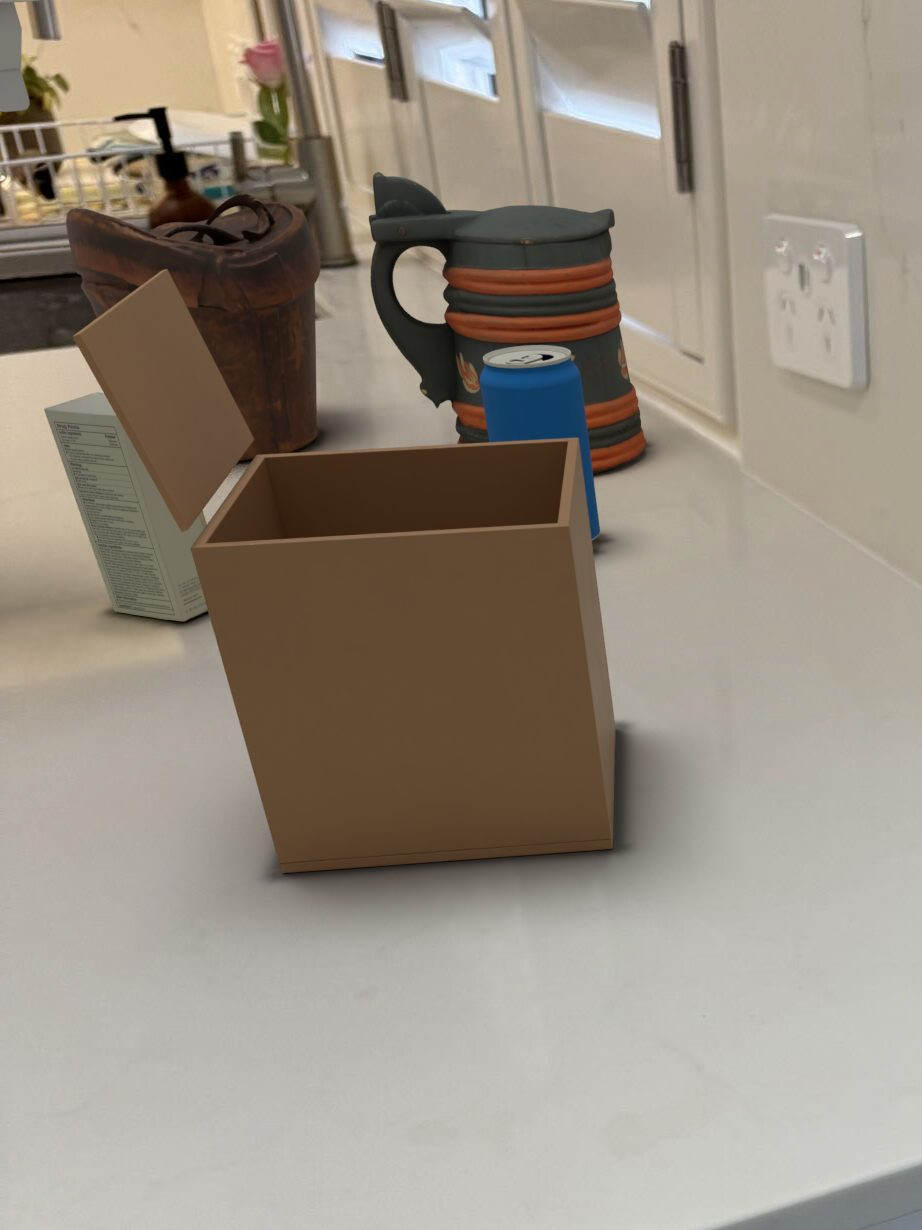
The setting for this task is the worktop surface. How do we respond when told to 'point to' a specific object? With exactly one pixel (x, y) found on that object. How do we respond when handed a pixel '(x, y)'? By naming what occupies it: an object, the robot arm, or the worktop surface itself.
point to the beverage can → (538, 403)
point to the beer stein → (509, 305)
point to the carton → (416, 652)
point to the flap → (167, 394)
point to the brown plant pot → (226, 301)
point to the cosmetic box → (126, 514)
